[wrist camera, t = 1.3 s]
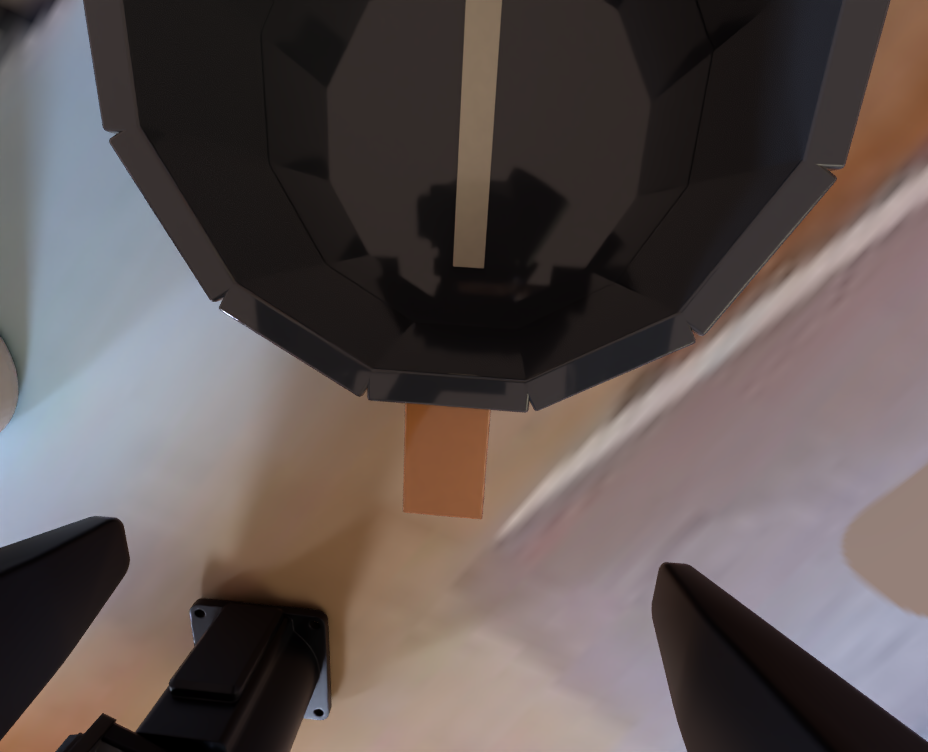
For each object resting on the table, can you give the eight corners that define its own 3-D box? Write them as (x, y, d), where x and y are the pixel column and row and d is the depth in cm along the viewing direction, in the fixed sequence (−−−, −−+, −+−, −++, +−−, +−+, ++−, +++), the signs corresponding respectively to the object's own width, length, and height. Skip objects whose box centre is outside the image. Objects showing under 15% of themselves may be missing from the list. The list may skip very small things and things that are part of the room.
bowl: (655, 436, 17) (740, 548, 11) (273, 406, 18) (158, 496, 12) (776, -183, 12) (1058, -598, 6) (231, -192, 13) (-10, -572, 7)
